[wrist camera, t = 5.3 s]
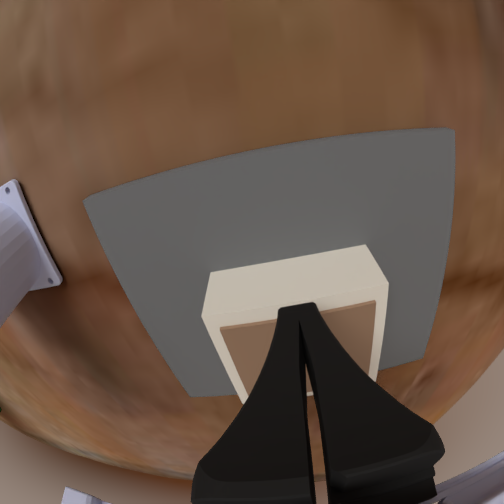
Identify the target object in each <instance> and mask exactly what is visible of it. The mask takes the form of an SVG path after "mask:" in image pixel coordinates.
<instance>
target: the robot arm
mask: <svg viewBox="0 0 504 504" xmlns="http://www.w3.org/2000/svg"><path fill="white" fill-rule="evenodd" d="M9 189H10V190H9ZM62 281H63V279H62V276H61V274H60V272H59V271H58V269H57V267H56V265H55V263H54V261H53V259H52V257H51V255H50V253H49V252H48V250H47V248H46V245H45V243H44V241H43V239H42V237H41V235H40V233H39V231H38V229H37V226H36V224H35V222H34V220H33V217H32V215H31V213H30V210H29V208H28V206H27V203H26V201H25V198H24V196H23V193H22V191H21V188H20V185H19V183H18V181H17V180H15V179H13V180H11V181H9V182H7V183H6V184H4V185H3V186H1V187H0V328H1V326H2V325H3V324H4V322H5V321H6V320H7V318H8V317H9V315H10V314H11V313H12V311H13V310H14V309H15V307H16V306H17V305H18V304H19V302H20V301H21V300H22V298H23V297H24V296H25V295H26V293H27V292H28V291H32V290H37V289H43V288H48V287H53V286H58V285H60V284H61V283H62ZM306 367H307V371H308V375H309V379H310V383H311V387H312V391H313V395H314V400H315V404H316V408H317V412H318V417H319V423H320V431H321V439H322V447H323V455H324V464H325V473H326V483H327V493H328V504H433V503H435V502H438V501H439V502H438V504H504V451H502V452H501V453H499V454H497V455H496V456H494V457H492V458H491V459H489V460H487V461H485V462H483V463H481V464H480V465H478V466H476V467H474V468H472V469H470V470H468V471H466V472H464V473H462V474H460V475H458V476H456V477H453V478H451V479H449V480H447V481H444V482H442V483H440V484H437V485H435V483H434V479H433V476H435V470H434V467H433V465H434V464H435V463H436V462H437V461H438V460H440V459H441V458H442V456H443V455H444V453H445V449H444V445H443V442H442V440H441V438H440V436H439V434H438V432H437V431H436V429H435V427H434V426H433V425H432V424H431V423H429V422H428V421H426V420H424V419H423V418H421V417H420V416H418V415H416V414H415V413H413V412H412V411H410V410H409V409H408V408H406V407H405V406H404V405H402V404H401V403H399V402H398V401H397V400H396V399H394V398H393V397H392V396H391V395H390V394H388V393H387V392H386V391H385V390H384V389H382V388H381V387H380V386H379V385H378V384H377V383H376V382H375V381H373V380H372V379H371V378H370V377H369V376H368V375H367V374H366V373H365V372H364V371H363V370H362V369H361V368H360V367H359V365H358V364H357V363H356V362H355V361H354V360H353V359H352V358H351V356H350V355H349V354H348V353H347V352H346V350H345V349H344V348H343V347H342V345H341V344H340V343H339V341H338V340H337V338H336V337H335V336H334V334H333V333H332V332H331V330H330V329H329V327H328V326H327V324H326V322H325V321H324V319H323V317H322V316H321V314H320V312H319V310H318V308H317V305H316V303H314V302H309V303H303V304H297V305H292V306H286V307H280V308H279V309H278V315H277V322H276V327H275V331H274V335H273V339H272V342H271V345H270V349H269V352H268V355H267V357H266V360H265V362H264V365H263V367H262V370H261V372H260V375H259V377H258V379H257V381H256V383H255V385H254V387H253V389H252V391H251V393H250V395H249V397H248V398H247V400H246V402H245V403H244V405H243V407H242V408H241V410H240V412H239V413H238V415H237V416H236V418H235V419H234V420H233V422H232V423H231V425H230V426H229V427H228V429H227V430H226V431H225V433H224V434H223V435H222V437H221V438H220V439H219V440H218V441H217V443H216V444H215V445H214V446H213V447H212V448H211V449H210V450H209V452H208V453H207V454H206V455H205V456H204V457H203V458H202V459H201V460H200V461H199V463H198V465H197V468H196V471H195V475H194V478H193V483H192V493H191V502H192V504H316V495H315V485H314V475H313V465H312V456H311V446H310V437H309V429H308V418H307V388H306ZM440 500H441V501H440ZM61 504H112V503H108V502H105V501H102V500H101V499H98V498H96V497H94V496H92V495H89V494H87V493H84V492H81V491H78V490H76V489H73V488H70V487H66V488H65V491H64V495H63V499H62V503H61Z"/></svg>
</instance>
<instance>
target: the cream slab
mask: <svg viewBox="0 0 504 504" xmlns="http://www.w3.org/2000/svg"><path fill="white" fill-rule="evenodd" d="M388 288H389V283H388V281H387V279H386V277H385V276H384V274H383V272H382V271H381V269H380V267H379V266H378V264H377V262H376V261H375V259H374V257H373V256H372V254H371V252H370V251H369V249H368V247H367V246H366V244H365V245H360V246H354V247H349V248H344V249H338V250H333V251H327V252H322V253H317V254H311V255H306V256H300V257H295V258H289V259H284V260H278V261H272V262H267V263H261V264H256V265H250V266H244V267H238V268H233V269H227V270H221V271H215V272H210V277H209V282H208V287H207V291H206V296H205V301H204V306H203V311H202V316H201V317H202V319H203V321H204V324H205V326H206V328H207V330H208V333H209V335H210V337H211V339H212V341H213V344H214V346H215V348H216V350H217V352H218V354H219V356H220V359H221V361H222V363H223V365H224V367H225V369H226V371H227V373H228V375H229V377H230V379H231V381H232V384H233V386H234V388H235V390H236V392H237V394H238V396H239V398H240V400H241V401H242V403H243V404H244V403H245V402H246V400H247V398H248V397H249V395H250V393H251V391H252V389H253V387H254V385H255V383H256V381H257V379H258V377H259V375H260V372H261V370H262V367H263V365H264V362H265V360H266V357H267V355H268V352H269V349H270V345H271V342H272V339H273V335H274V331H275V327H276V322H277V315H278V309H279V308H280V307H286V306H292V305H297V304H303V303H309V302H314V303H316V305H317V308H318V310H319V312H320V314H321V316H322V317H323V319H324V321H325V322H326V324H327V326H328V327H329V329H330V330H331V332H332V333H333V334H334V336H335V337H336V338H337V340H338V341H339V343H340V344H341V345H342V347H343V348H344V349H345V350H346V352H347V353H348V354H349V355H350V356H351V358H352V359H353V360H354V361H355V362H356V363H357V364H358V365H359V367H360V368H361V369H362V370H363V371H364V372H365V373H366V374H367V375H368V376H369V377H370V378H371V379H372V380H373V381H375V382H376V377H377V372H378V366H379V360H380V354H381V348H382V341H383V334H384V326H385V318H386V309H387V299H388ZM306 388H307V396H310V395H313V391H312V387H311V383H310V379H309V375H308V371H307V367H306Z"/></svg>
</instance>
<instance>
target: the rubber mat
mask: <svg viewBox="0 0 504 504" xmlns="http://www.w3.org/2000/svg"><path fill="white" fill-rule="evenodd" d="M454 186H455V130H452V129H449V128H421V129H403V130H390V131H378V132H368V133H358V134H349V135H341V136H333V137H326V138H319V139H312V140H306V141H300V142H294V143H288V144H282V145H276V146H271V147H266V148H261V149H256V150H251V151H246V152H241V153H237V154H232V155H228V156H223V157H219V158H215V159H210V160H206V161H202V162H198V163H194V164H190V165H187V166H183V167H179V168H175V169H172V170H168V171H165V172H161V173H158V174H154V175H151V176H147V177H144V178H141V179H138V180H134V181H131V182H128V183H125V184H122V185H119V186H116V187H113V188H110V189H107V190H104V191H101V192H98V193H95V194H93V195H90V196H88V197H87V198H86V199H84V200H83V203H84V206H85V208H86V211H87V213H88V216H89V218H90V220H91V223H92V225H93V227H94V230H95V232H96V234H97V236H98V239H99V241H100V243H101V245H102V247H103V249H104V252H105V254H106V256H107V258H108V260H109V262H110V264H111V266H112V268H113V270H114V272H115V274H116V276H117V278H118V280H119V282H120V284H121V286H122V288H123V289H124V291H125V293H126V295H127V297H128V299H129V301H130V302H131V304H132V306H133V308H134V310H135V311H136V313H137V315H138V317H139V318H140V320H141V322H142V324H143V325H144V327H145V329H146V330H147V332H148V334H149V335H150V337H151V339H152V340H153V342H154V344H155V345H156V347H157V348H158V350H159V352H160V353H161V355H162V356H163V358H164V359H165V361H166V362H167V364H168V366H169V367H170V369H171V370H172V372H173V373H174V375H175V376H176V378H177V379H178V380H179V382H180V383H181V385H182V386H183V388H184V389H185V390H186V392H187V393H188V395H189V396H190V397H206V396H223V395H236V394H237V392H236V390H235V388H234V386H233V384H232V381H231V379H230V377H229V375H228V373H227V371H226V369H225V367H224V365H223V363H222V361H221V359H220V356H219V354H218V352H217V350H216V348H215V346H214V344H213V341H212V339H211V337H210V335H209V333H208V330H207V328H206V326H205V324H204V321H203V319H202V317H201V316H202V311H203V306H204V301H205V296H206V291H207V287H208V282H209V277H210V272H215V271H221V270H227V269H233V268H238V267H244V266H250V265H256V264H261V263H267V262H272V261H278V260H284V259H289V258H295V257H300V256H306V255H311V254H317V253H322V252H327V251H333V250H338V249H344V248H349V247H354V246H360V245H365V244H366V246H367V247H368V249H369V251H370V252H371V254H372V256H373V257H374V259H375V261H376V262H377V264H378V266H379V267H380V269H381V271H382V272H383V274H384V276H385V277H386V279H387V281H388V283H389V288H388V299H387V309H386V318H385V326H384V334H383V341H382V348H381V354H380V360H379V366H378V371H379V370H383V369H387V368H391V367H394V366H398V365H401V364H405V363H408V362H412V361H415V360H418V359H421V358H423V356H424V353H425V350H426V346H427V343H428V340H429V336H430V333H431V329H432V325H433V322H434V318H435V314H436V310H437V306H438V301H439V297H440V292H441V288H442V283H443V278H444V272H445V267H446V261H447V255H448V248H449V241H450V233H451V225H452V215H453V203H454Z"/></svg>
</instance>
